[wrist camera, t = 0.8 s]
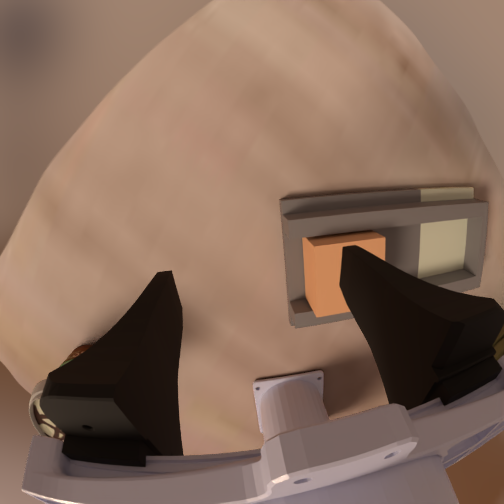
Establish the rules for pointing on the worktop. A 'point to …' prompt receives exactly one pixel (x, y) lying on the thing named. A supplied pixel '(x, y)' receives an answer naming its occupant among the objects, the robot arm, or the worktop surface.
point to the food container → (35, 412)
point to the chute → (391, 236)
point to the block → (332, 267)
